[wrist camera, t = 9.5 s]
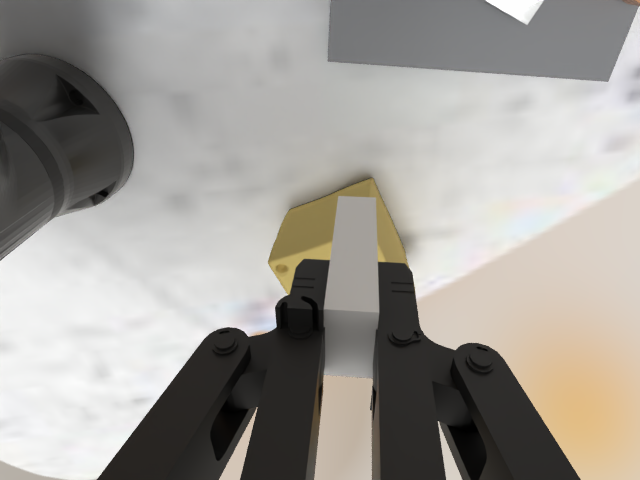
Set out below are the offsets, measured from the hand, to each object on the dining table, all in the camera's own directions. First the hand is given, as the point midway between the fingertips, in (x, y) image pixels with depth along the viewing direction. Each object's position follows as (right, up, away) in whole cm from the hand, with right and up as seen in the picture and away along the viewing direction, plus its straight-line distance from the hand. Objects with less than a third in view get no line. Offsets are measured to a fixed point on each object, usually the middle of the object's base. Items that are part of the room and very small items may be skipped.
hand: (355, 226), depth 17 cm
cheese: (+2, +1, +28) cm, 28 cm away
